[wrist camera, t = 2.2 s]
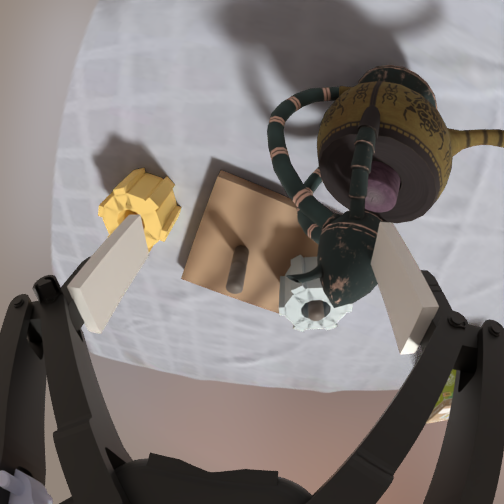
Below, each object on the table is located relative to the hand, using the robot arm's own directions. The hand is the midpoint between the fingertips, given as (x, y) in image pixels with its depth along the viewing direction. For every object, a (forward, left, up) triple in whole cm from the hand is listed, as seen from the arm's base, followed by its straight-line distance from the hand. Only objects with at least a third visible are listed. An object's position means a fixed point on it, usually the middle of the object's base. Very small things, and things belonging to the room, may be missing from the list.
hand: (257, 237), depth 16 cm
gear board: (+8, -15, -20) cm, 27 cm away
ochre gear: (-12, -14, -20) cm, 28 cm away
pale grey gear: (+14, -15, -18) cm, 28 cm away
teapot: (+13, +13, -16) cm, 24 cm away
